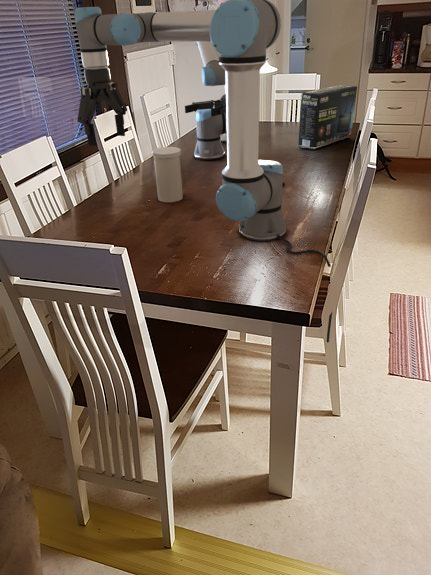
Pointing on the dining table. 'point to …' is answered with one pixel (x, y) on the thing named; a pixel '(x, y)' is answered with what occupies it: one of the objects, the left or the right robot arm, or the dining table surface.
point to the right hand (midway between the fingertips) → (107, 140)
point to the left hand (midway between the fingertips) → (198, 111)
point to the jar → (168, 179)
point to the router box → (326, 115)
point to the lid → (166, 152)
